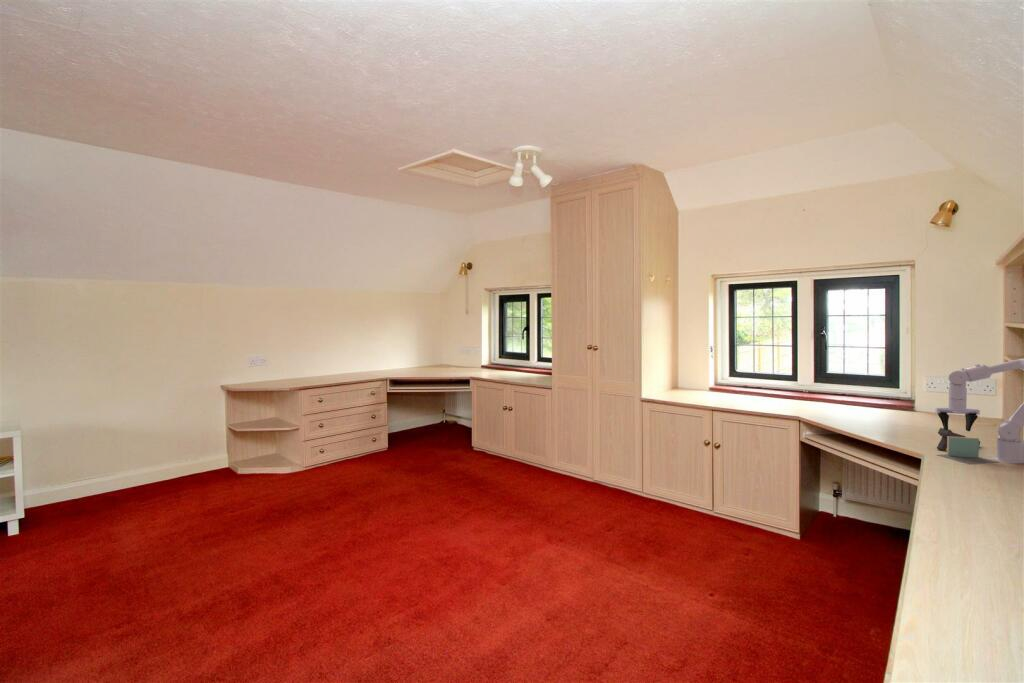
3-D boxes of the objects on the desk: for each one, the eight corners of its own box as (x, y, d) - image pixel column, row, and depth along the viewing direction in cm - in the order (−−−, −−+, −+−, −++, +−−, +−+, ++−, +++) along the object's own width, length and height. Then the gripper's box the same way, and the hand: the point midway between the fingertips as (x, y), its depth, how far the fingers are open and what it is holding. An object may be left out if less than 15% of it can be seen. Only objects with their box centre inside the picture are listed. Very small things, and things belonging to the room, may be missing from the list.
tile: (947, 454, 215) (947, 436, 214) (977, 457, 211) (977, 438, 211) (948, 455, 213) (948, 437, 213) (978, 457, 210) (979, 438, 209)
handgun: (933, 449, 224) (938, 427, 224) (968, 458, 231) (973, 437, 232) (943, 451, 220) (948, 429, 221) (978, 461, 228) (983, 439, 228)
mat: (964, 454, 217) (964, 453, 217) (999, 463, 203) (999, 462, 203) (935, 456, 215) (935, 454, 215) (969, 465, 201) (969, 464, 201)
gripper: (974, 397, 217) (973, 429, 218) (932, 396, 222) (932, 427, 223) (982, 400, 211) (981, 432, 211) (939, 399, 216) (939, 430, 216)
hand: (956, 430), depth 217 cm, fingers open, 7 cm apart
